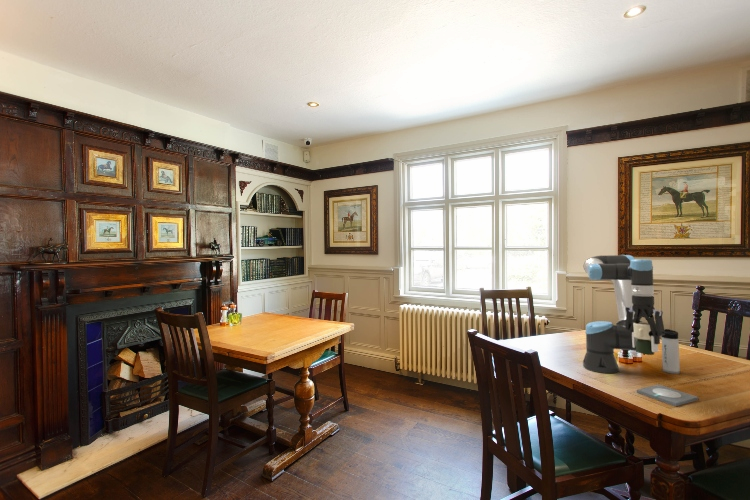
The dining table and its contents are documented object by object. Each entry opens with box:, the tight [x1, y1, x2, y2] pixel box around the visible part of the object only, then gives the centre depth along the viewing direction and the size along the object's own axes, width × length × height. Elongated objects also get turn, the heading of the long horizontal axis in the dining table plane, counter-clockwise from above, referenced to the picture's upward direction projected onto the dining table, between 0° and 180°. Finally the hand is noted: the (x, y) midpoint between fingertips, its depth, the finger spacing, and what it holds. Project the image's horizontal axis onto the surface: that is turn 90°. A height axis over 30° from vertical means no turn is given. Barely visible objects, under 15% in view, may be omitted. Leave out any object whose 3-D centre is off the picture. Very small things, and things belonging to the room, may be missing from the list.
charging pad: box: [636, 384, 699, 407], centre depth 139 cm, size 14×14×2 cm
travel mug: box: [661, 328, 681, 375], centre depth 165 cm, size 6×7×20 cm
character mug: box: [633, 321, 656, 356], centre depth 144 cm, size 11×7×13 cm, turn 127°
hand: (645, 349), depth 144 cm, fingers closed on character mug, 7 cm apart
